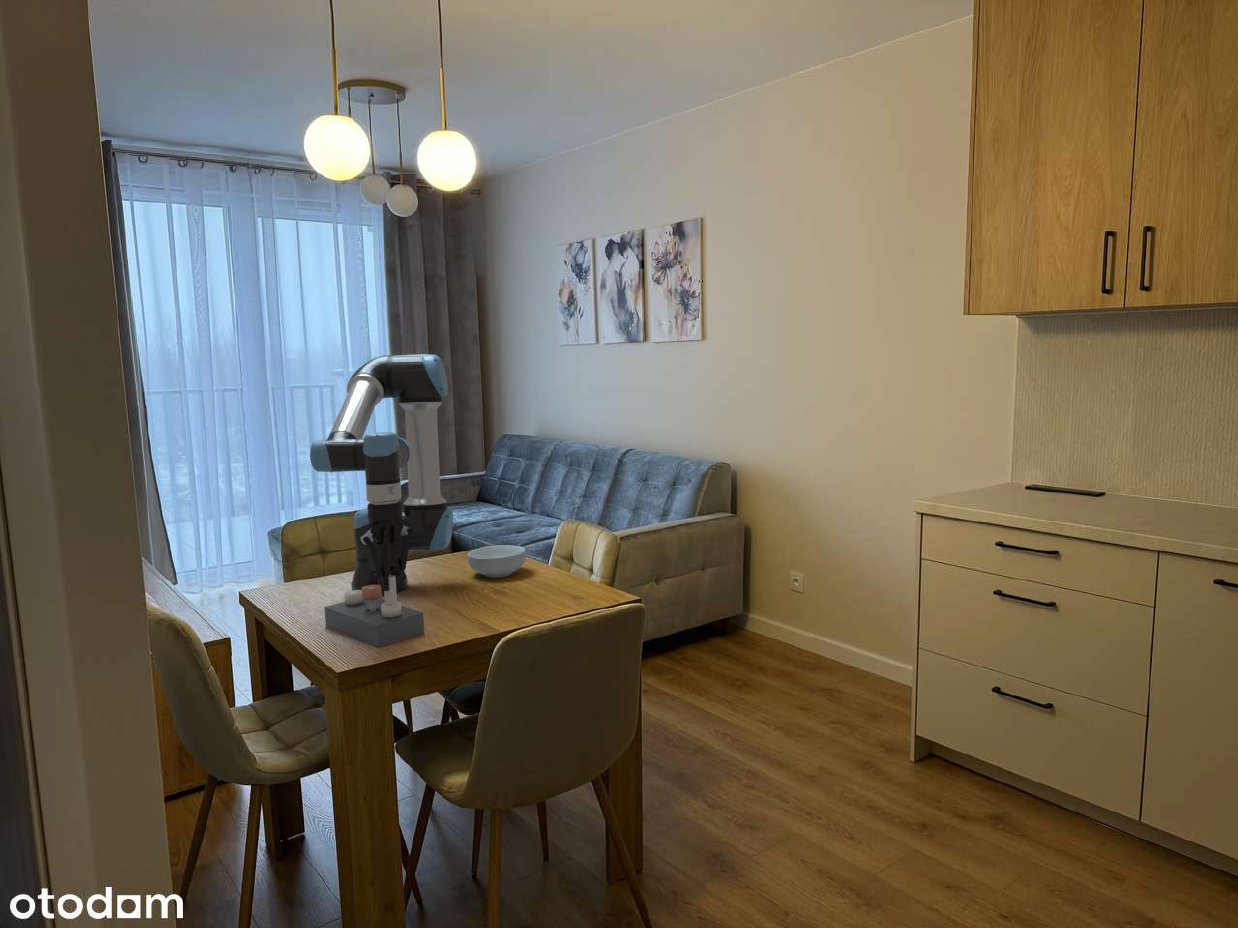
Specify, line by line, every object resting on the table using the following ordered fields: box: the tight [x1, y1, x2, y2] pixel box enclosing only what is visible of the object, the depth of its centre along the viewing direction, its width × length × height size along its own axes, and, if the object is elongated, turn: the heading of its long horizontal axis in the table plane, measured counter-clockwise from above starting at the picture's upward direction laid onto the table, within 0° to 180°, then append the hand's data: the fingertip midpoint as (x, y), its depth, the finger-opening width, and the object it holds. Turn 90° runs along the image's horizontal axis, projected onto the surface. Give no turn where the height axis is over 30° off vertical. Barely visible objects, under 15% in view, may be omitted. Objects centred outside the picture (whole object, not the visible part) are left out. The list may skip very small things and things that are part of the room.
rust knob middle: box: [362, 585, 383, 612], centre depth 193 cm, size 4×4×7 cm
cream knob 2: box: [381, 601, 402, 618], centre depth 188 cm, size 4×4×7 cm
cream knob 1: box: [344, 589, 364, 606], centre depth 198 cm, size 4×4×7 cm
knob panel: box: [323, 598, 425, 648], centre depth 193 cm, size 12×23×5 cm, turn 48°
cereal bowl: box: [467, 544, 527, 579], centre depth 241 cm, size 17×17×7 cm
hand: (390, 603), depth 187 cm, fingers closed
